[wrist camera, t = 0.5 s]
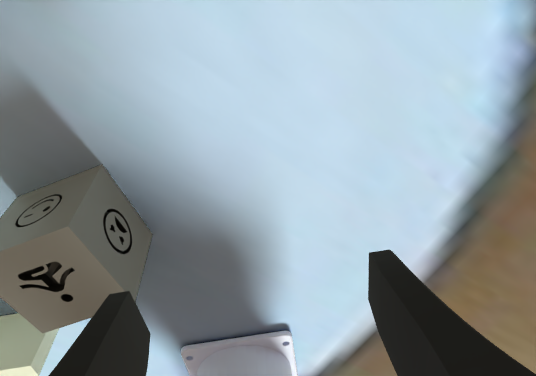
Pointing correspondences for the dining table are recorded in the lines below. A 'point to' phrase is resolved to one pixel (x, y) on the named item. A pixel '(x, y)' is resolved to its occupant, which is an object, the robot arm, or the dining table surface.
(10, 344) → the bin
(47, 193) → the beige symbol cube
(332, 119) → the dining table surface
